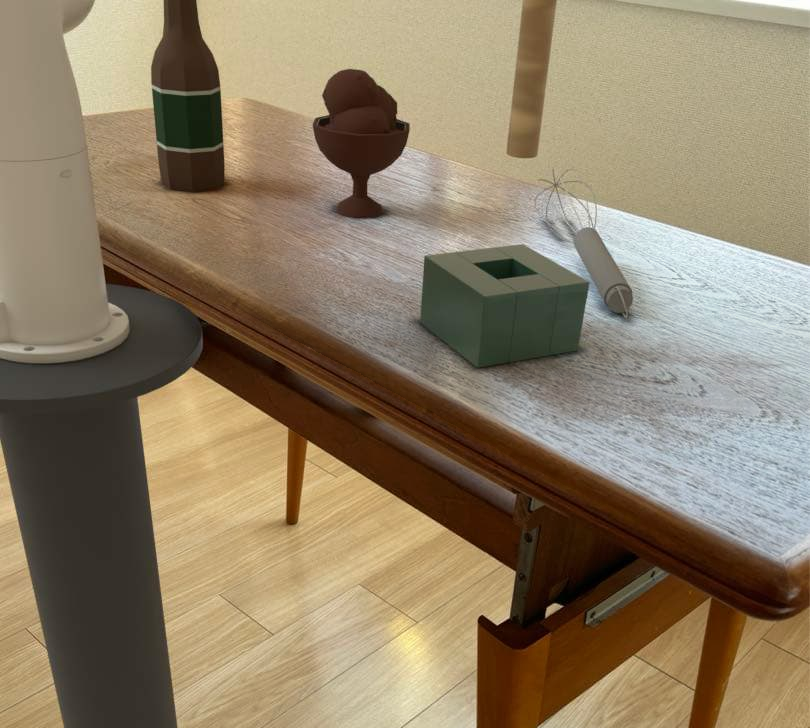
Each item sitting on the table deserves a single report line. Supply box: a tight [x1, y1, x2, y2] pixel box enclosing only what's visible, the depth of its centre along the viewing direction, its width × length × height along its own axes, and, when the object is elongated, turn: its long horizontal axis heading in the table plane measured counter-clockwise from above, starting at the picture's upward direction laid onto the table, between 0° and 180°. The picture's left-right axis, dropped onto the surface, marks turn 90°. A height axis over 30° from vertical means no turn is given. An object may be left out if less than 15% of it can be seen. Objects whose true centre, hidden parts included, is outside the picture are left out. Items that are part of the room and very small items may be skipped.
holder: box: [419, 243, 590, 369], centre depth 80 cm, size 10×10×6 cm
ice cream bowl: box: [312, 68, 411, 219], centre depth 105 cm, size 11×11×15 cm
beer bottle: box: [150, 0, 226, 193], centre depth 108 cm, size 8×8×24 cm
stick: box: [506, 0, 558, 159], centre depth 67 cm, size 2×2×20 cm
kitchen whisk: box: [533, 167, 634, 319], centre depth 97 cm, size 6×34×6 cm, turn 4°
